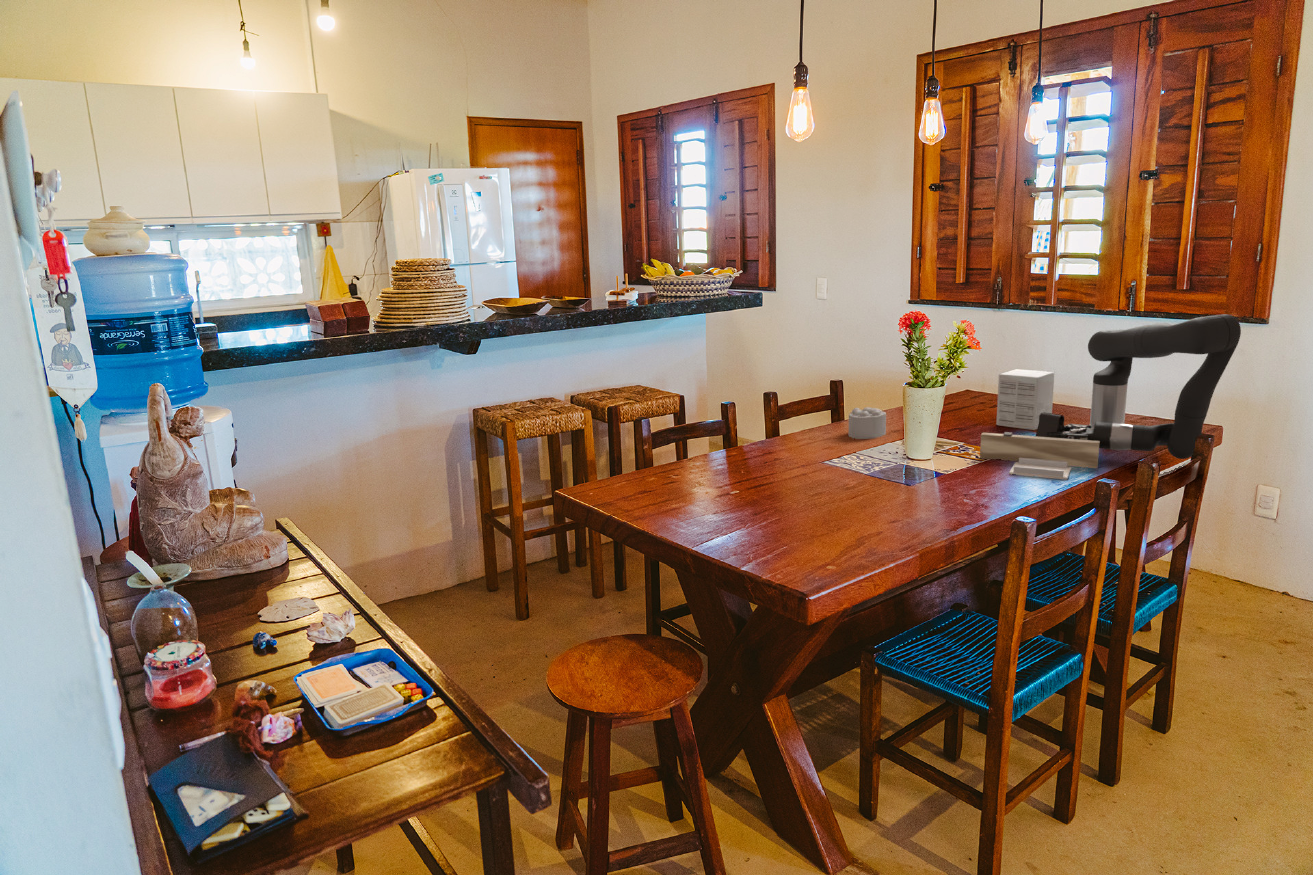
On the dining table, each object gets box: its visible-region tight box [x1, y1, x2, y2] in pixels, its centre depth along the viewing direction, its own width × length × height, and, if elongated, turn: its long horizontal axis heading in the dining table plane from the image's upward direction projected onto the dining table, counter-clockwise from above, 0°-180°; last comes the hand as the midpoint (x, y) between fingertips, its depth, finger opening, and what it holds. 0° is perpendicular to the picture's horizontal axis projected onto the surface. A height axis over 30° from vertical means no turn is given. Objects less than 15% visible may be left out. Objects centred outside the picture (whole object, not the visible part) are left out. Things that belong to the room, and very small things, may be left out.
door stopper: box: [1035, 412, 1065, 437], centre depth 237 cm, size 9×6×12 cm, turn 122°
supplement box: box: [995, 368, 1055, 431], centre depth 274 cm, size 13×13×18 cm
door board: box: [979, 431, 1100, 469], centre depth 230 cm, size 3×30×8 cm, turn 59°
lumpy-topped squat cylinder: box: [848, 406, 887, 440], centre depth 271 cm, size 10×13×9 cm
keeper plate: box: [1008, 458, 1072, 481], centre depth 222 cm, size 11×14×2 cm
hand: (1048, 431), depth 237 cm, fingers open, 8 cm apart
